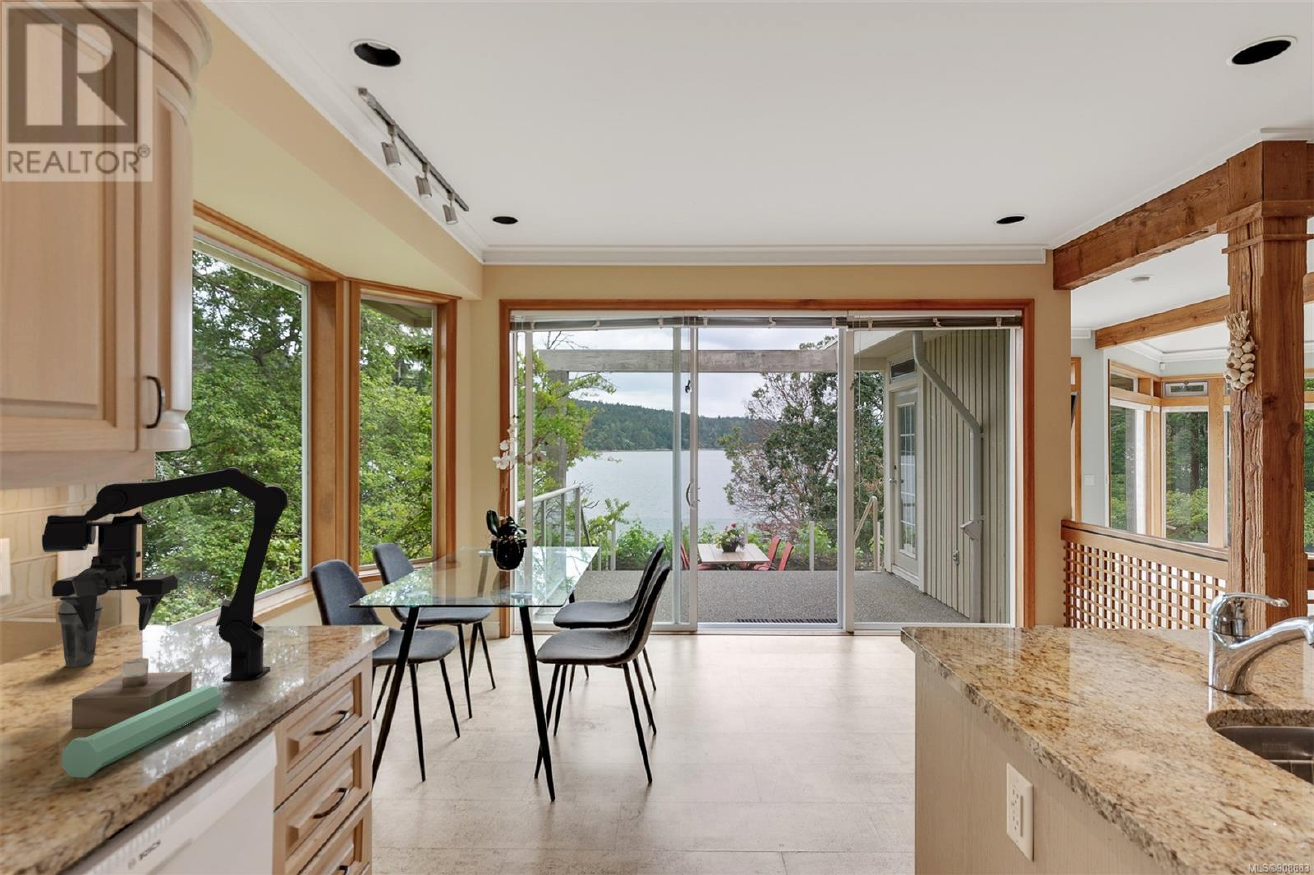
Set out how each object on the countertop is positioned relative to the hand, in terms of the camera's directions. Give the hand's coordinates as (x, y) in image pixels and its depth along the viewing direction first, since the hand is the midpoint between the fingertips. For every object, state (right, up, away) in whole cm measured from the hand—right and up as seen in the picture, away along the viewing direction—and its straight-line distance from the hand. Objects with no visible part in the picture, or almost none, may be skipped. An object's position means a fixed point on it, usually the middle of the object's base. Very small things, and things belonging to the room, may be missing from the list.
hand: (115, 630), depth 125 cm
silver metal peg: (+10, -12, -8) cm, 18 cm away
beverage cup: (-21, -12, +17) cm, 30 cm away
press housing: (+10, -12, -8) cm, 18 cm away
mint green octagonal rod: (+21, -13, -18) cm, 31 cm away
